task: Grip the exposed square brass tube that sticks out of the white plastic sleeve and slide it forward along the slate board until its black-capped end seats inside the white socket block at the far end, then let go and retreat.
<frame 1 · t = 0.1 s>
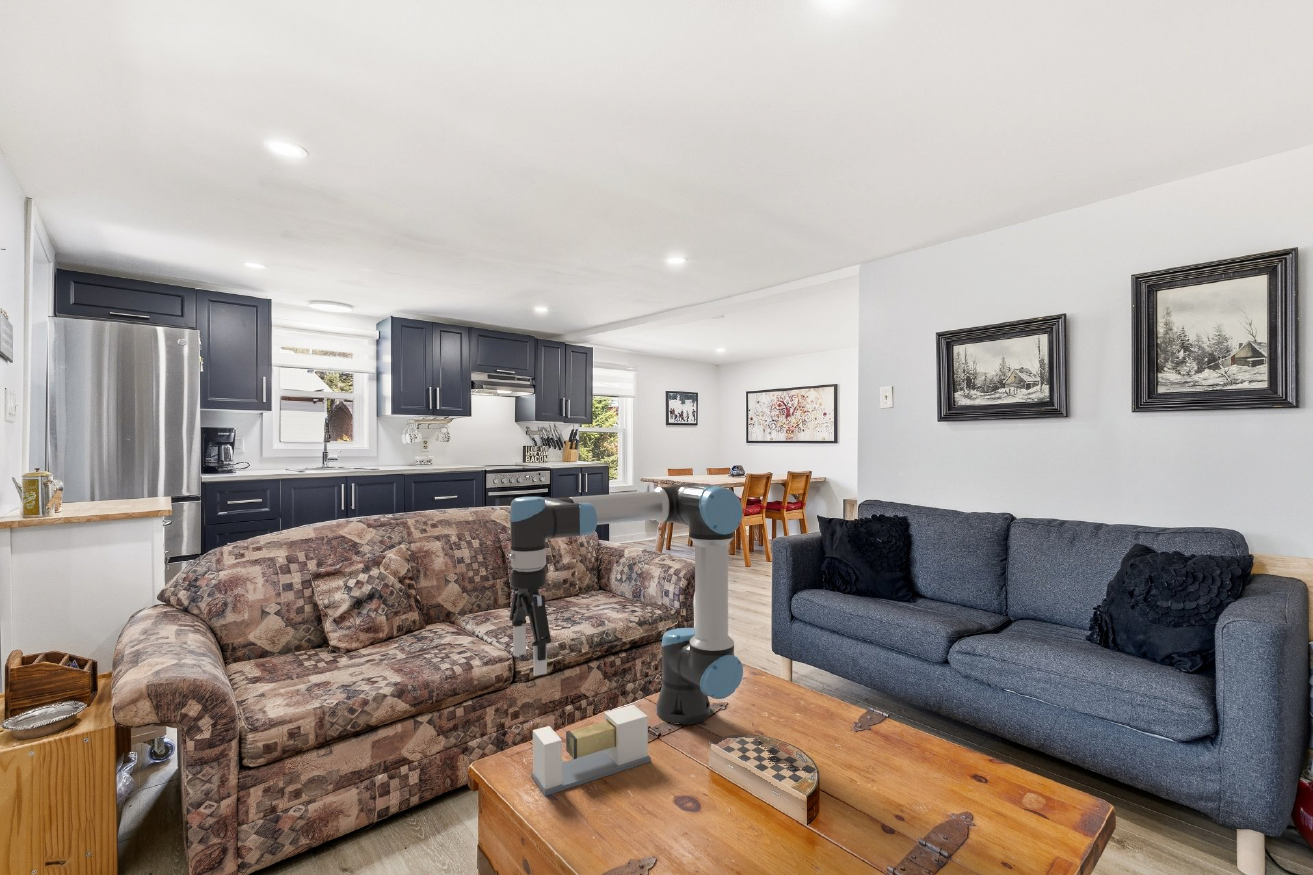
hand: (529, 663, 135), 28 cm above the table, fingers open, 13 cm apart
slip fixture: (592, 768, 143), on the table
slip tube: (605, 734, 145), point 7 cm above the table, slide at 0.0 cm
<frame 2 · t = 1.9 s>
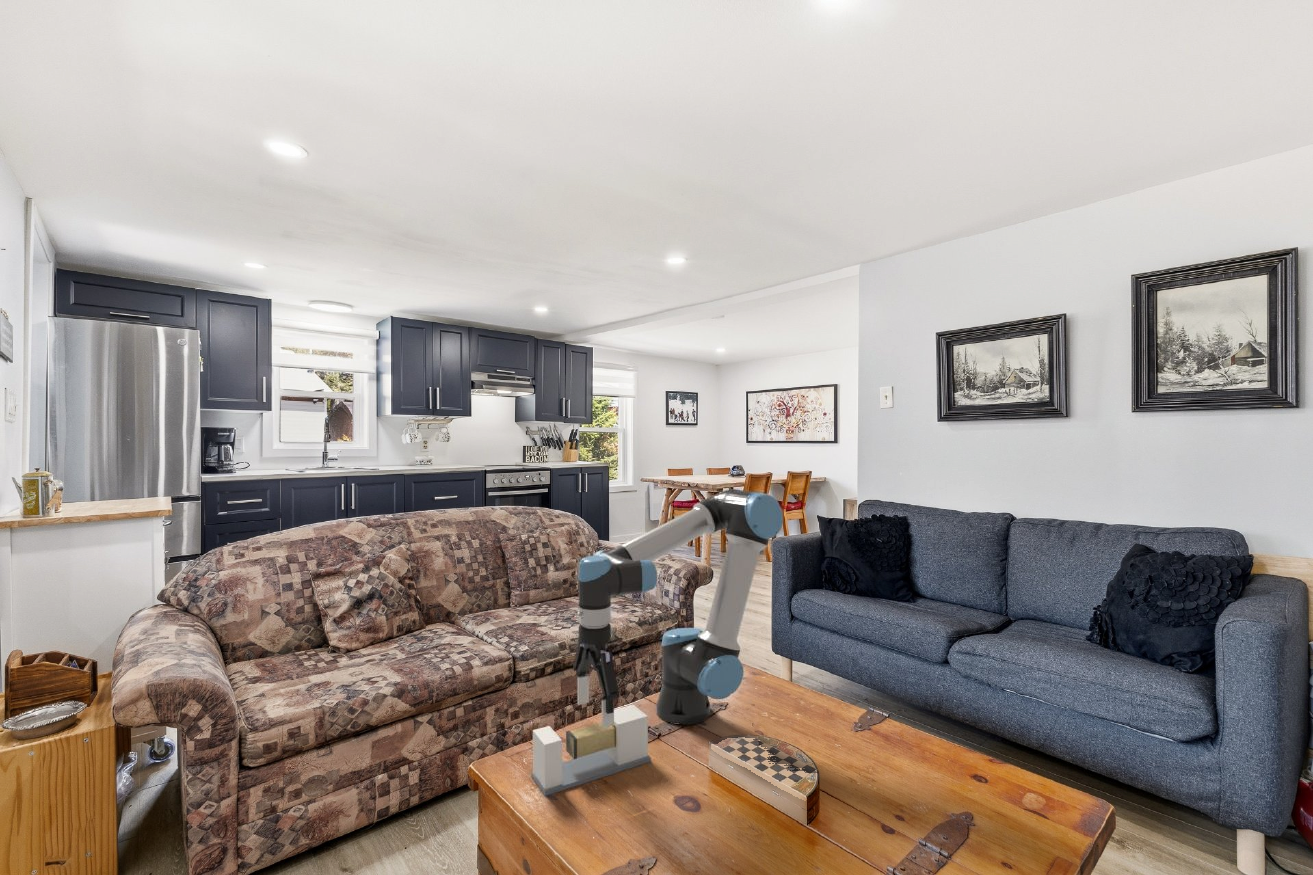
hand: (595, 714, 143), 13 cm above the table, fingers open, 13 cm apart
nothing on the table moved.
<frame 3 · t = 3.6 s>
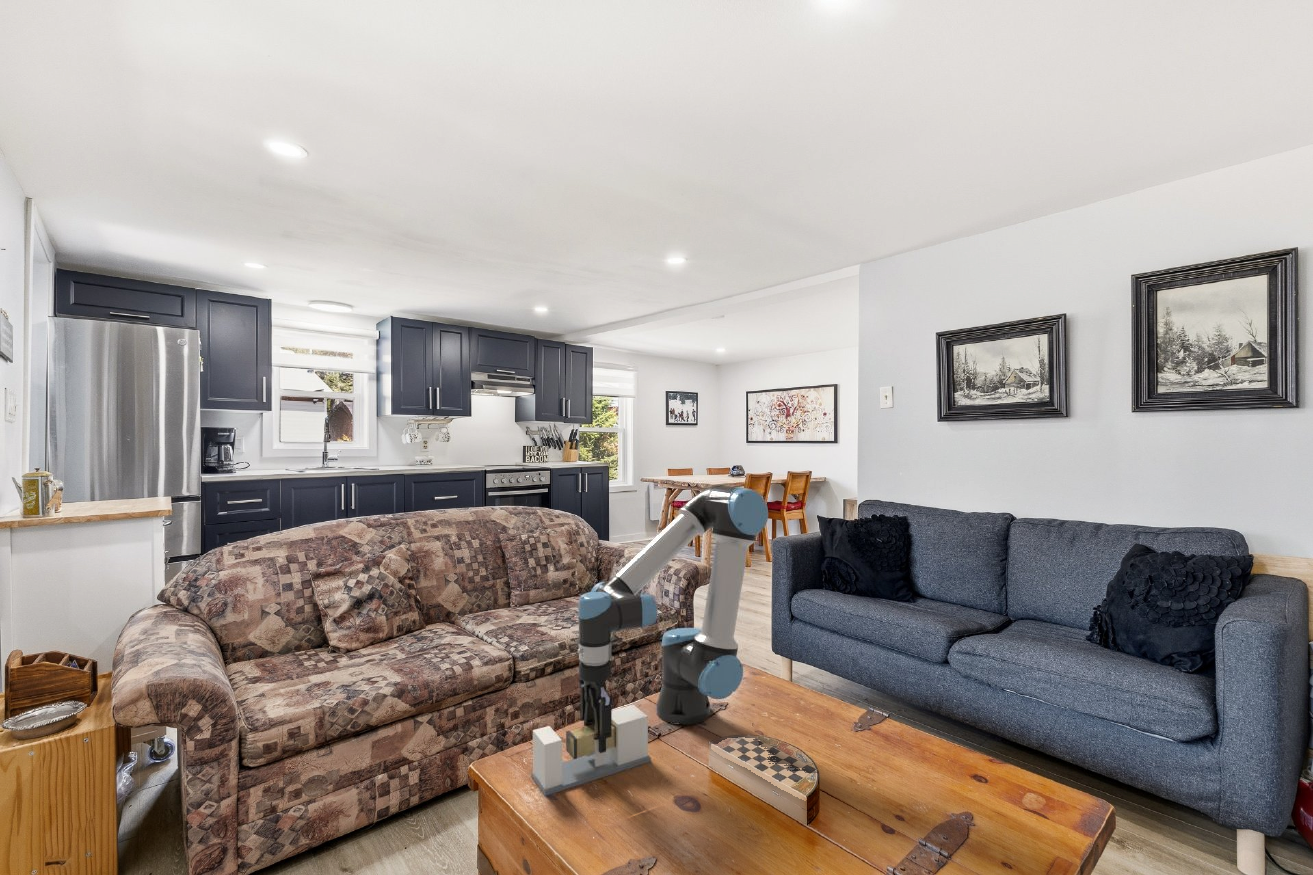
hand: (595, 758, 144), 2 cm above the table, fingers closed on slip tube, 4 cm apart
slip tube: (605, 734, 145), point 7 cm above the table, slide at 0.0 cm, touching gripper
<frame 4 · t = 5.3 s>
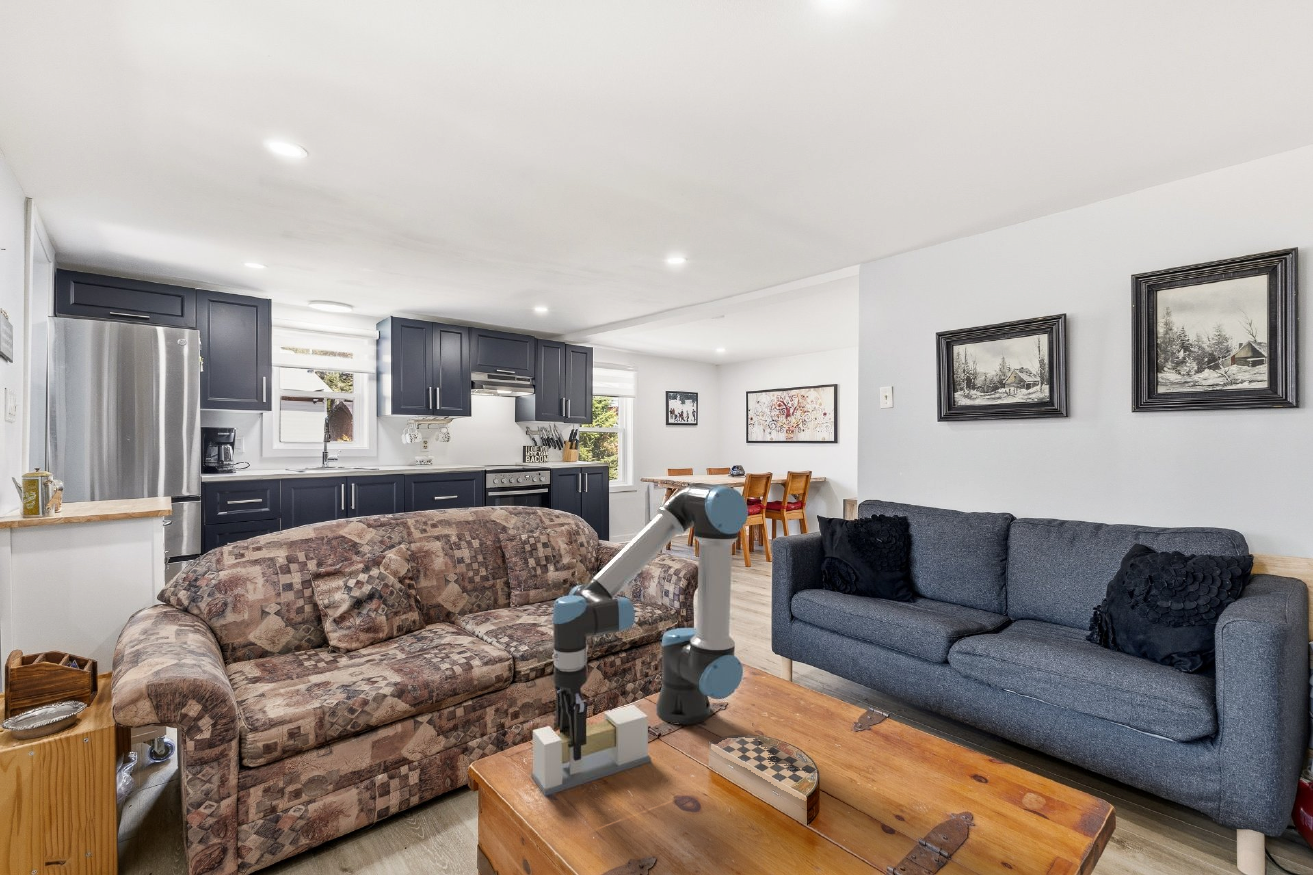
hand: (571, 766, 140), 2 cm above the table, fingers closed on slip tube, 4 cm apart
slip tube: (581, 741, 142), point 7 cm above the table, slide at 6.2 cm, touching gripper
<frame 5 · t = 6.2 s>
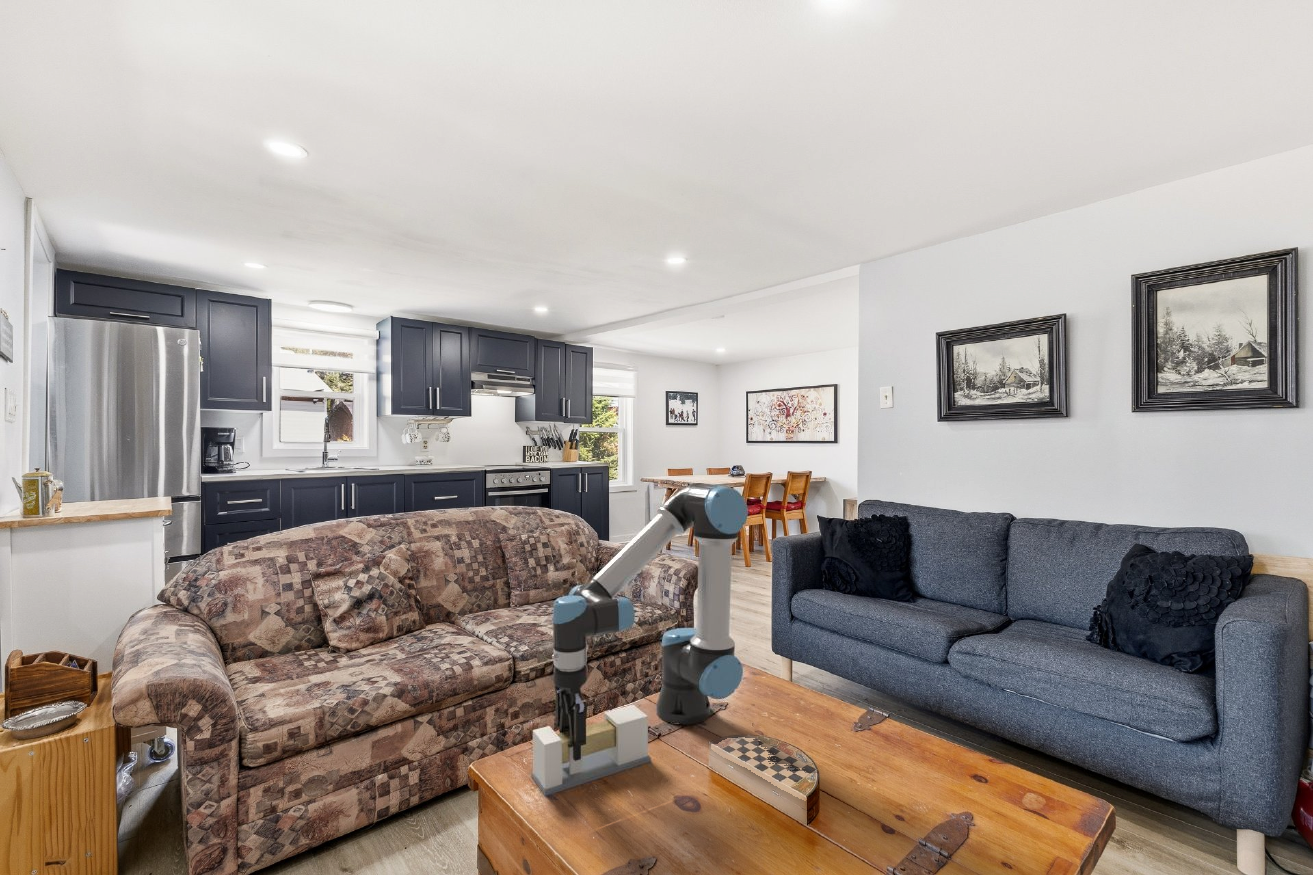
hand: (571, 766, 140), 2 cm above the table, fingers closed on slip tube, 4 cm apart
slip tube: (580, 741, 142), point 7 cm above the table, slide at 6.3 cm, touching gripper
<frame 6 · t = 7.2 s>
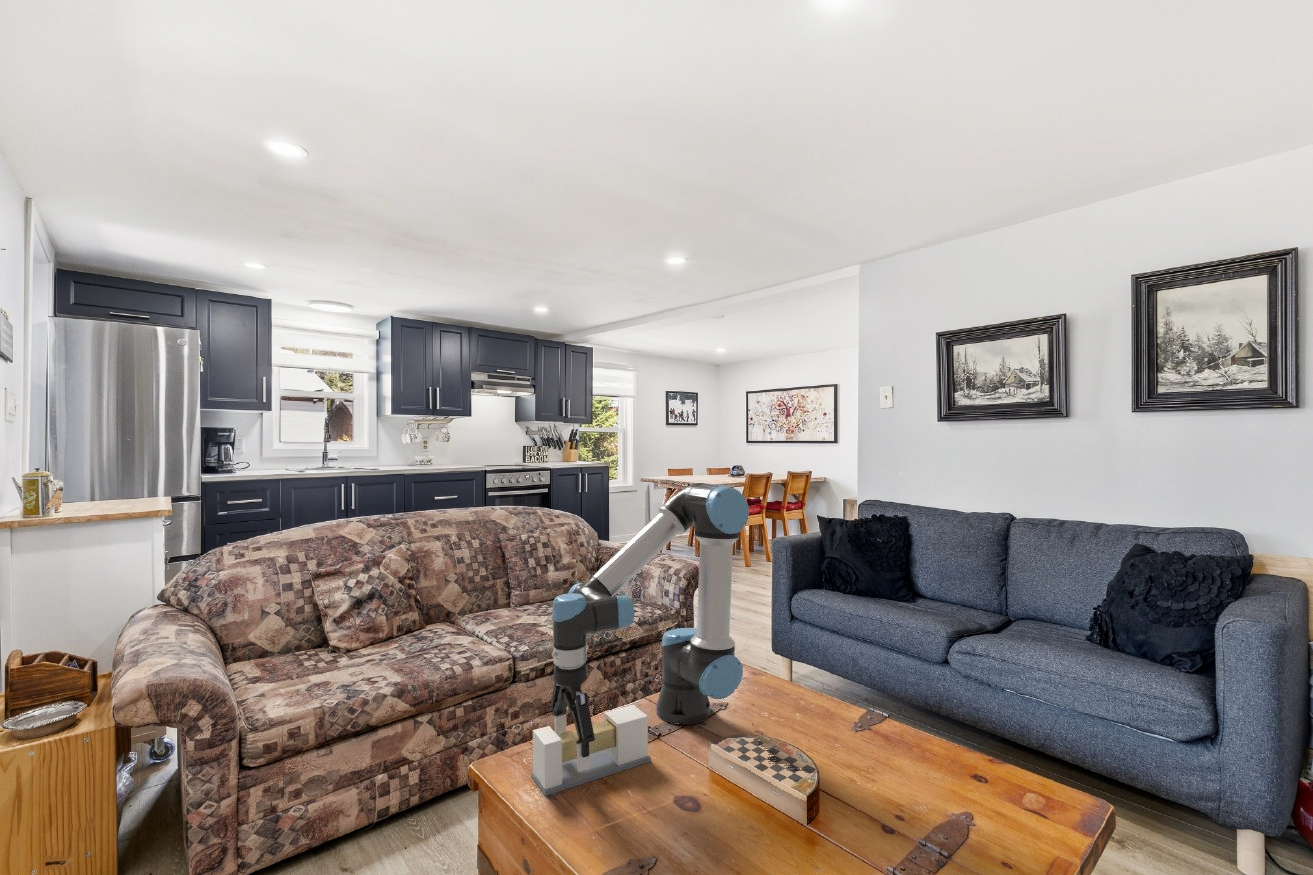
hand: (571, 755, 140), 4 cm above the table, fingers open, 13 cm apart
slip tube: (580, 741, 142), point 7 cm above the table, slide at 6.3 cm
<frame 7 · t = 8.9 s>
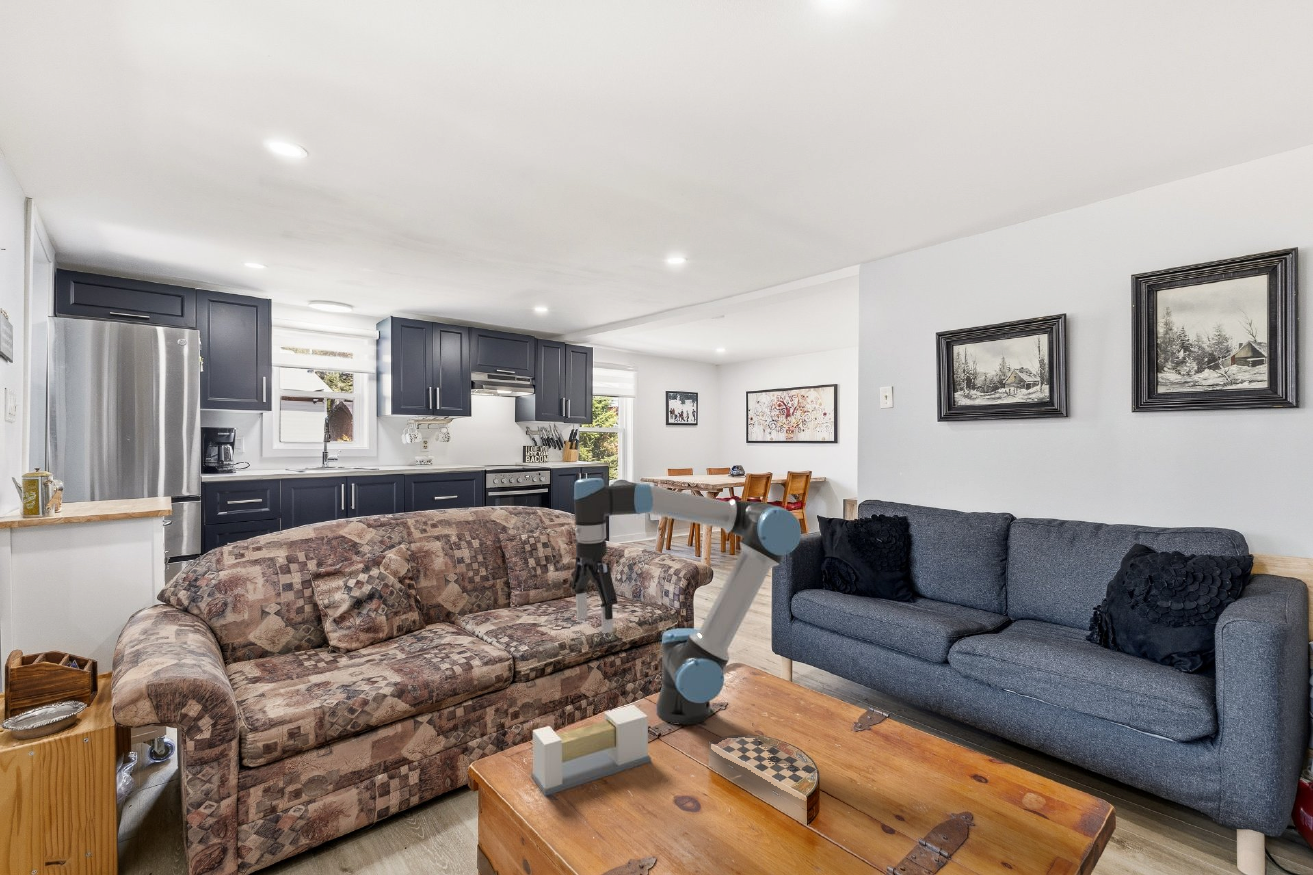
hand: (594, 625, 153), 30 cm above the table, fingers open, 13 cm apart
nothing on the table moved.
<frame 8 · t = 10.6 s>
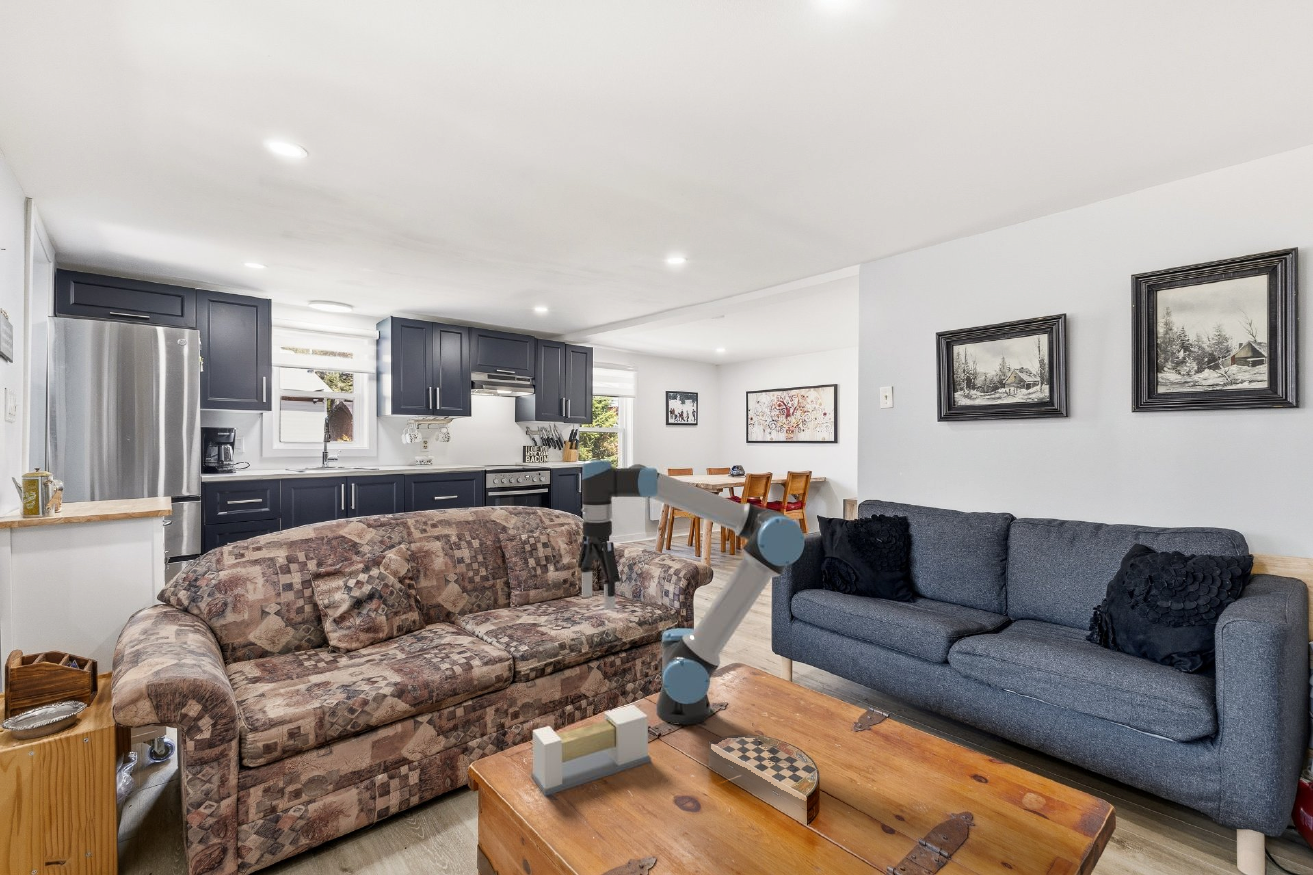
hand: (598, 602, 158), 35 cm above the table, fingers open, 13 cm apart
nothing on the table moved.
at the end: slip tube slide at 6.3 cm; the gripper is holding nothing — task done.
